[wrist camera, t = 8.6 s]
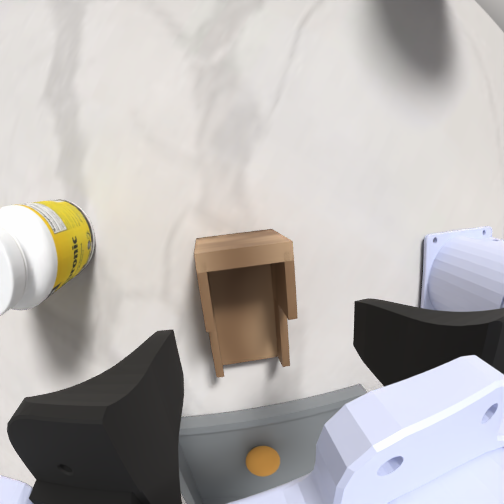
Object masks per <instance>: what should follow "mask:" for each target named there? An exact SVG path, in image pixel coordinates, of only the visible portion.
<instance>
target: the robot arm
mask: <svg viewBox="0 0 504 504" xmlns="http://www.w3.org/2000/svg"><path fill="white" fill-rule="evenodd" d="M433 239H434V242H433ZM353 345H354V347H355V349H356V351H357V352H358V354H359V356H360V357H361V359H362V360H363V362H364V363H365V364H366V366H367V367H368V368H369V369H370V370H371V372H372V373H373V374H374V375H375V376H376V377H377V379H378V380H379V381H380V382H381V383H382V384H383V385H384V387H382V388H379V389H376V390H373V391H370V392H368V393H366V394H364V395H362V396H360V397H358V398H356V399H354V400H352V401H350V402H348V403H346V404H345V405H344V406H343V407H342V408H341V409H340V410H339V411H338V412H337V413H336V414H335V415H334V416H333V417H332V418H330V419H329V420H328V421H327V422H326V423H325V424H324V427H323V429H322V432H321V434H320V436H319V439H318V441H317V444H316V460H315V465H314V469H313V471H312V472H310V473H309V474H307V475H304V476H302V477H300V478H297V479H295V480H292V481H290V482H288V483H285V484H282V485H280V486H277V487H275V488H272V489H269V490H267V491H264V492H261V493H258V494H255V495H252V496H249V497H246V498H243V499H240V500H236V501H233V502H230V503H226V504H504V240H501V239H497V238H493V237H492V228H491V227H489V226H485V227H478V228H471V229H464V230H457V231H450V232H442V233H435V234H428V235H426V236H425V238H424V261H423V281H422V295H421V307H420V308H418V307H413V306H408V305H403V304H398V303H394V302H389V301H384V300H378V299H363V300H359V301H355V311H354V342H353ZM183 398H184V378H183V371H182V367H181V362H180V358H179V354H178V349H177V345H176V340H175V336H174V331H173V330H164V331H157V332H155V333H154V334H153V335H152V336H151V337H149V338H148V339H147V340H146V341H145V342H144V343H143V344H141V345H140V346H139V347H138V348H137V349H136V350H135V351H133V352H132V353H131V354H129V355H128V356H127V357H126V358H124V359H123V360H122V361H120V362H119V363H118V364H116V365H115V366H113V367H112V368H110V369H108V370H107V371H105V372H103V373H101V374H100V375H98V376H96V377H93V378H91V379H89V380H87V381H85V382H83V383H80V384H78V385H75V386H72V387H70V388H67V389H63V390H60V391H57V392H53V393H48V394H43V395H38V396H33V397H26V398H24V400H23V401H22V403H21V404H20V406H19V407H18V409H17V410H16V412H15V413H14V415H13V416H12V418H11V419H10V421H9V422H8V426H7V432H8V436H9V440H10V442H11V444H12V446H13V447H14V449H15V451H16V452H17V454H18V455H19V457H20V458H21V460H22V461H23V462H24V464H25V465H26V467H27V468H28V469H29V471H30V472H31V473H32V475H33V476H34V477H35V478H36V479H37V480H36V482H35V484H34V487H33V488H32V487H31V486H30V485H28V484H27V483H25V482H22V481H19V480H15V479H12V478H8V477H5V476H2V475H0V504H182V501H181V491H180V478H179V457H178V443H179V431H180V423H181V415H182V406H183Z"/></svg>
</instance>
